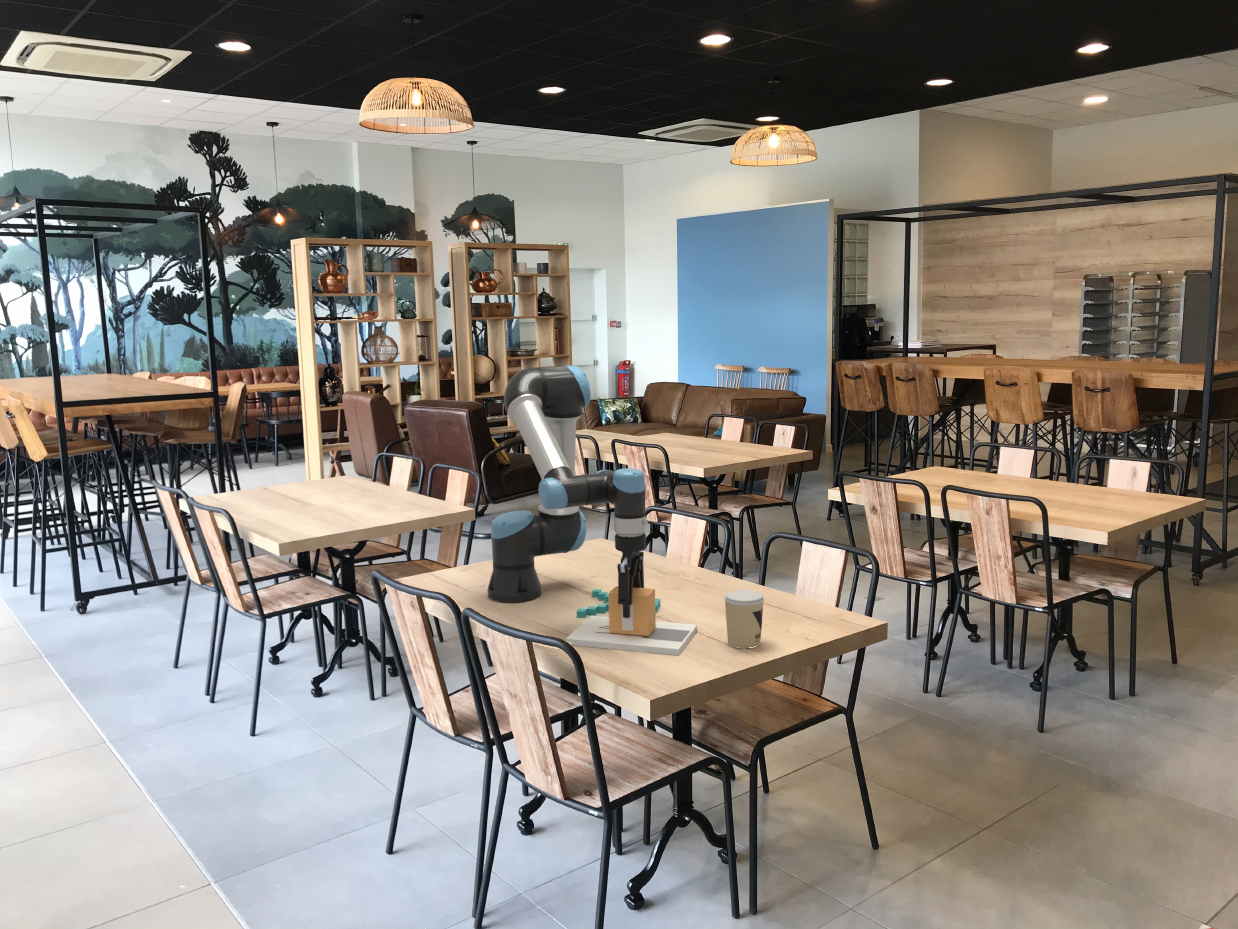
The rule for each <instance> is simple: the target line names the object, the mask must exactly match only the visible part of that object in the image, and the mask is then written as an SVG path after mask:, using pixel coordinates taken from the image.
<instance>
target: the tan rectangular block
mask: <svg viewBox="0 0 1238 929" xmlns="http://www.w3.org/2000/svg"><path fill="white" fill-rule="evenodd" d="M608 596H609V611H608V617H609V633H620V634H632V635H643V636H649V635H650V634H651V633H652V632H653V631H654V629H655V628H656V621H657V619H656V613H655V599H656V588H649V587H644V588H636V587H633V591H632V604H633V619H634V630H633V631H630V630H622V604H618V585H616V586H615V587H614V588H612V589H611V590H609V592H608Z"/></svg>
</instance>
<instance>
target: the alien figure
mask: <svg viewBox="0 0 1238 929" xmlns="http://www.w3.org/2000/svg"><path fill="white" fill-rule="evenodd" d="M608 593H609V592H607V591H602V589H601V588H600V589H597V588H593V589H592V591H591V598H595V599H597V601H603V602H604V604H603V603H599V604H597V606H595V605H594V606H591V605H589V606H588V607H587V608H577V610H576V618H578V619H580V618H581V619H586V618H587V616H590V617H591V616H597V614H606V613H607V612H609V596H608ZM660 608H661V598H655V614H657V613H658V610H659V609H660Z"/></svg>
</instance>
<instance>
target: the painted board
mask: <svg viewBox="0 0 1238 929" xmlns="http://www.w3.org/2000/svg"><path fill="white" fill-rule="evenodd" d="M697 632H698V624H691V623H679V622H672V621H671V622H669V621H657V620H656V628H655V629H654V631H653V632H652V633H651V634H650V635H649V636H643V635H632V634H620V633H609V616H600V615H595V616H591V615H590V616H589V617H588V618H587V619H586V620H585V621H584V622H583V623H582V624H581V625H579V626H578V627H577V628H576V629H575V630H574V631H572V632H571V634H569V635H568V636H567V637H566V638H565V642H566V641H568V642H570V643H572V644H573V645H572V646H577V647H589V648H597V649H598V648H599V649H610V650H618V651H619V650H621V651H627V652H629V651H631V652H640V653H648V654H657V655H658V654H660V655H668V656H669V655H670V656H680V655H681V653H682V651H683V650H684V649H685V648H686V646H687V645H688V643H689V642H690V641H691V640H692V638H693V637H694V636H695V635H696V633H697Z"/></svg>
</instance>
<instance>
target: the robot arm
mask: <svg viewBox="0 0 1238 929" xmlns="http://www.w3.org/2000/svg"><path fill="white" fill-rule="evenodd" d="M503 393H504V395H503V404H504V409H505V411H506V413H507V416H508V418H509V420H511V421H512V422H515V424H516V426H517V428H518V430H519V432H520V435H521V437H522V439H523V442H524V444H525V446H526V448H527V450H528V452H529V454H530V457H531V459H532V461H533V463H534V465H535V468H536V470H537V472H538V474H539V475H540V476H539V477H540V479H541V480H540V482H539V484H538V496H539V502H540V504H539V505H538V511H537V514H533V512H531V510H526V509H525V510H524V509H523V510H513V511H508V512H505V513H502V514H499V515H497V516H496V517H495V518H493V520H492V521H491V531H490V538H491V551H492V554H491V555H492V572H491V576H490V579H489V583H488V586H487V597H488V599H490V598H491V599H493V600H492V601H494V600H497V601H496V602H498V601H501V603H521V602H528V601H532V600H536V599H537V598H540V597H541V596H542V584H541V581H540V578H539V576H538V574H537V570H536V568H535V567H536V566H535V557H539V556H546V555H547V556H549V555H555V554H567V553H570V552H573V551H577V550H579V549H580V548H581V547H582V546H583V545H584V542H585V540H586V534H587V523H586V517H585V515H584V513H583V511H582V510H580V507H582V506H591V505H599V504H600V505H601V504H611V505H613V506H614V511H613V512H614V513H613V514H614V516H613V518H614V520H613V521H614V524H613V525H614V526H613V527H614V533H616V534H615V535H614V548H615V550H617V551H618V552H621V553H622V554H621V557H620V563H617V566H616V567H617V577H618V579H617V580H618V581H617V586H618V604H622V630H630V631H633V630H634V619H633V604H632V591H633V587H636V588H645V576H644V575H645V574H644V572H645V571H644V554H645V553H644V550H645V549H647V534H646V533H645V532H646V530H647V529H646V528H647V526H646V525H648V520H646V488H647V484H646V480H645V479H646V478H645V472H644V471H643V470H642V469H640V468H632V467H631V468H630V467H629V468H619V469H617V470H615V471H613V470H611V469H607V470H606V469H601V470H599V471H597V472H595V473H589V474H580V475H579V474H577V475H575V474H576V473H575V472H576V448H577V446H576V443H577V442H576V441H577V438H576V436H577V421H578V420H579V419H581V417H582V415H583V409H584V408H586V407H588V406H589V405H590V402H591V400H592V399H591V396H592V395H591V394H592V392H591V385H590V382H589V379H588V376H587V374H586V372H585V371H584V370H583V369H582V368H581V367H579V366H577V365H565V364H563V365H551V366H538V367H537V366H536V367H535V366H532V367H531V366H530V367H525V368H523V369H520V370H519V371H517V372H516V373H515V374H514V375H513V376H512V377H511V378H510V379H509V381H508V382H507V385H506V387H505V390H504V392H503ZM491 599H490V600H491Z"/></svg>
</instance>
